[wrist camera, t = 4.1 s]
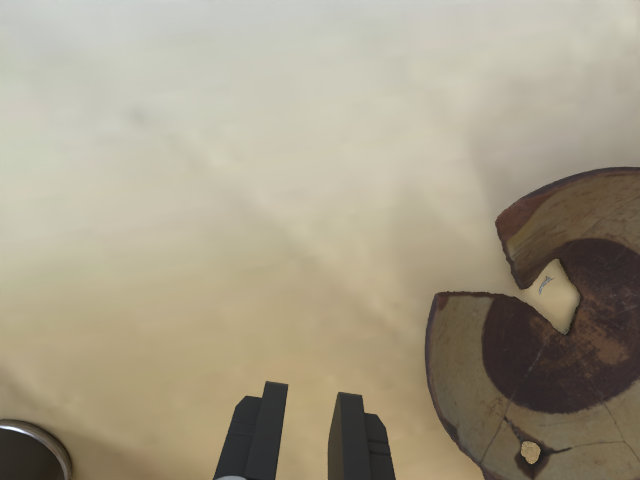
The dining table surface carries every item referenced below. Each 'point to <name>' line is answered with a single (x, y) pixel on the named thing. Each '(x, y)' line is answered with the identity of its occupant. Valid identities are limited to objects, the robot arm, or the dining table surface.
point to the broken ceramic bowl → (549, 341)
